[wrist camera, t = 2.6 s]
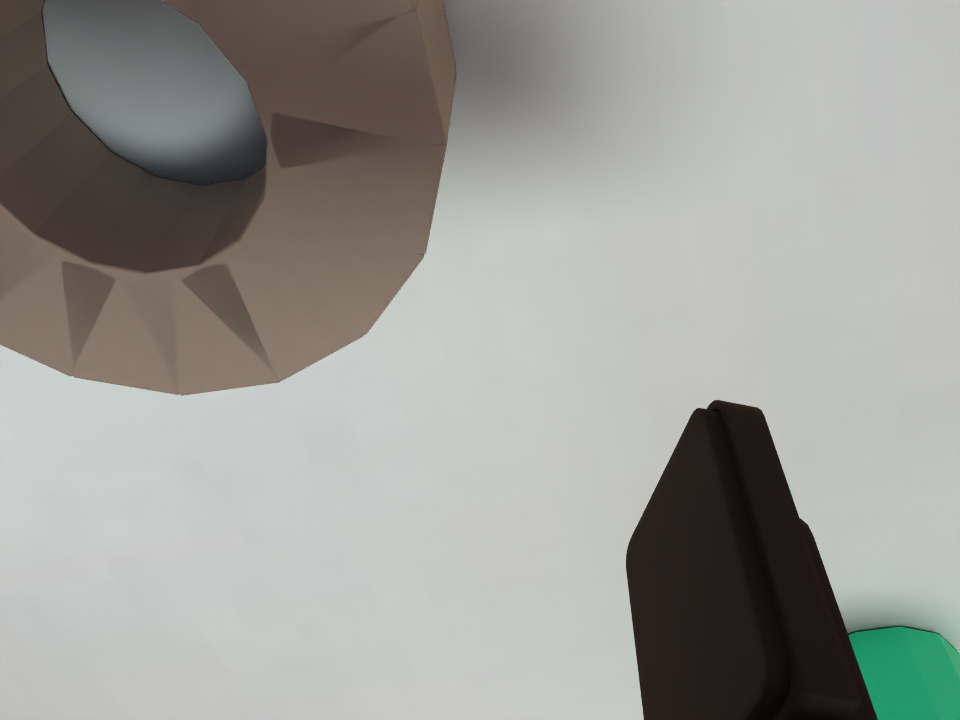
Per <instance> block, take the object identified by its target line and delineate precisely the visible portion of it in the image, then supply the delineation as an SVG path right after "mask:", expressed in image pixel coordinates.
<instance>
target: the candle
mask: <svg viewBox="0 0 960 720" xmlns="http://www.w3.org/2000/svg"><path fill="white" fill-rule="evenodd" d="M848 636H849V639H850V642H851V645H852V647H853V650H854V653H855V656H856V659H857V662H858V664H859V667H860V670H861V673H862V676H863V679H864V682H865V684H866V687H867V690H868V693H869V696H870V699H871V701H872V704H873V707H874V710H875V713H876V716H877V718H878V720H960V654H959V652H958V651H957V650H956V649H955V648H953V647H952V646H951V645H950V644H949V643H948V642H947V641H946V640H945V639H944V638H942V637H941V636H940V635H939V634H936V633H931V632H926V631H921V630H916V629H910V628H905V627H892V628H884V629H876V630H869V631H861V632H854V633H852V634H850V635H848Z"/></svg>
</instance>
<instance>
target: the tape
mask: <svg viewBox="0 0 960 720" xmlns="http://www.w3.org/2000/svg"><path fill="white" fill-rule="evenodd" d="M44 1H45V0H0V344H1V345H3V346H5V347H7V348H9V349H11V350H14V351H16V352H18V353H20V354H22V355H25V356H27V357H29V358H31V359H33V360H36V361H38V362H40V363H42V364H44V365H47V366H49V367H51V368H53V369H55V370H58V371H60V372H62V373H64V374H66V375H69V376H73V377H75V378H81V379H87V380H93V381H99V382H105V383H111V384H117V385H123V386H129V387H135V388H141V389H147V390H153V391H159V392H165V393H170V394H176V395H189V394H197V393H204V392H211V391H219V390H226V389H233V388H241V387H248V386H255V385H263V384H270V383H278V382H280V381H281V380H284V379H286V378H288V377H290V376H292V375H293V374H295V373H297V372H299V371H301V370H303V369H304V368H306V367H308V366H310V365H312V364H313V363H315V362H317V361H319V360H321V359H323V358H324V357H326V356H328V355H330V354H332V353H334V352H335V351H337V350H339V349H341V348H343V347H345V346H346V345H348V344H350V343H352V342H354V341H356V340H357V339H359V338H361V337H363V336H364V334H367V333H368V331H369V330H370V329H371V327H372V326H373V325H374V323H375V322H376V321H377V319H378V318H379V317H380V315H381V314H382V313H383V311H384V310H385V309H386V307H387V306H388V305H389V303H390V302H391V301H392V299H393V298H394V297H395V295H396V294H397V292H398V291H399V290H400V288H401V287H402V286H403V284H404V283H405V282H406V280H407V279H408V278H409V276H410V275H411V274H412V272H413V271H414V270H415V268H416V267H417V266H418V264H419V263H420V262H421V260H422V259H423V258H424V254H425V253H426V249H427V244H428V239H429V234H430V228H431V223H432V218H433V213H434V208H435V203H436V198H437V192H438V187H439V182H440V177H441V172H442V167H443V161H444V156H445V151H446V146H447V138H448V131H449V124H450V116H451V109H452V102H453V94H454V87H455V80H456V65H455V60H454V55H453V50H452V45H451V40H450V35H449V31H448V26H447V21H446V16H445V11H444V6H443V1H442V0H162V1H163V2H165V3H166V4H168V5H170V6H171V7H173V8H174V9H176V10H177V11H179V12H181V13H182V14H184V15H185V16H187V17H189V18H190V19H192V20H193V21H195V22H197V23H198V24H199V25H200V26H201V27H202V28H203V29H204V31H205V32H206V33H207V34H208V36H209V37H210V38H211V39H212V40H213V42H214V43H215V44H216V45H217V47H218V48H219V49H220V50H221V51H222V53H223V54H224V55H225V56H226V57H227V59H228V60H229V61H230V62H231V64H232V65H233V66H234V67H235V68H236V70H237V71H238V72H239V73H240V74H241V76H242V77H243V78H244V79H245V81H246V82H247V85H248V88H249V91H250V93H251V96H252V99H253V102H254V104H255V107H256V110H257V113H258V115H259V118H260V121H261V124H262V126H263V129H264V132H265V135H266V138H267V151H266V166H265V167H263V168H262V169H260V170H259V171H257V172H256V173H254V174H253V175H251V176H250V177H248V178H245V179H240V180H234V181H228V182H222V183H216V184H210V185H205V186H200V185H195V184H190V183H184V182H179V181H174V180H169V179H164V178H159V177H155V176H153V175H151V174H150V173H148V172H146V171H144V170H142V169H141V168H139V167H137V166H135V165H133V164H132V163H130V162H128V161H126V160H124V159H123V158H121V157H119V156H117V155H115V154H114V153H112V152H110V151H109V150H108V149H107V148H106V147H105V146H104V145H103V144H102V143H101V141H100V140H99V139H98V138H97V137H96V136H95V135H94V134H93V133H92V132H91V131H90V130H89V129H88V128H87V127H86V126H85V125H84V124H83V123H82V122H81V121H80V120H79V119H78V118H77V117H76V116H75V115H74V114H73V113H72V112H71V111H70V109H69V107H68V105H67V103H66V101H65V99H64V97H63V95H62V93H61V91H60V89H59V87H58V85H57V83H56V81H55V79H54V77H53V75H52V73H51V71H50V69H49V67H48V66H47V57H46V49H45V40H44V31H43V22H42V13H41V10H42V7H43V4H44Z"/></svg>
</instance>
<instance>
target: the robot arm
mask: <svg viewBox="0 0 960 720" xmlns="http://www.w3.org/2000/svg"><path fill="white" fill-rule="evenodd" d="M626 571H627V579H628V588H629V596H630V605H631V613H632V621H633V630H634V638H635V647H636V655H637V664H638V672H639V681H640V689H641V697H642V706H643V714H644V720H878V718H877V716H876V713H875V710H874V707H873V704H872V701H871V699H870V696H869V693H868V690H867V687H866V684H865V682H864V679H863V676H862V673H861V670H860V667H859V664H858V662H857V659H856V656H855V653H854V650H853V647H852V645H851V642H850V639H849V636H848V633H847V630H846V628H845V625H844V622H843V619H842V616H841V613H840V610H839V608H838V605H837V602H836V599H835V596H834V593H833V591H832V588H831V585H830V582H829V579H828V576H827V574H826V571H825V568H824V565H823V562H822V559H821V556H820V554H819V551H818V548H817V545H816V542H815V539H814V537H813V534H812V532H811V530H810V528H809V526H808V525H807V524H806V523H805V522H804V521H803V520H802V519H800V518H799V516H798V513H797V510H796V507H795V504H794V501H793V498H792V495H791V492H790V489H789V487H788V484H787V481H786V478H785V475H784V472H783V469H782V466H781V463H780V460H779V457H778V454H777V451H776V449H775V446H774V443H773V440H772V437H771V434H770V431H769V428H768V425H767V422H766V419H765V416H764V414H763V413H762V411H761V410H760V409H759V408H756V407H751V406H746V405H741V404H736V403H730V402H725V401H720V400H715V401H713V402H712V403H711V404H710V405H709V406H708V408H707V409H702V408H697V409H696V410H695V411H694V412H693V414H692V415H691V417H690V419H689V421H688V423H687V425H686V427H685V429H684V431H683V433H682V435H681V437H680V440H679V442H678V444H677V446H676V448H675V450H674V452H673V454H672V456H671V458H670V460H669V462H668V464H667V466H666V468H665V470H664V472H663V474H662V476H661V478H660V480H659V482H658V484H657V486H656V488H655V490H654V492H653V494H652V496H651V499H650V501H649V503H648V505H647V507H646V509H645V511H644V513H643V515H642V517H641V519H640V521H639V523H638V525H637V527H636V529H635V531H634V533H633V535H632V537H631V539H630V542H629V545H628V549H627V555H626Z"/></svg>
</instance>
